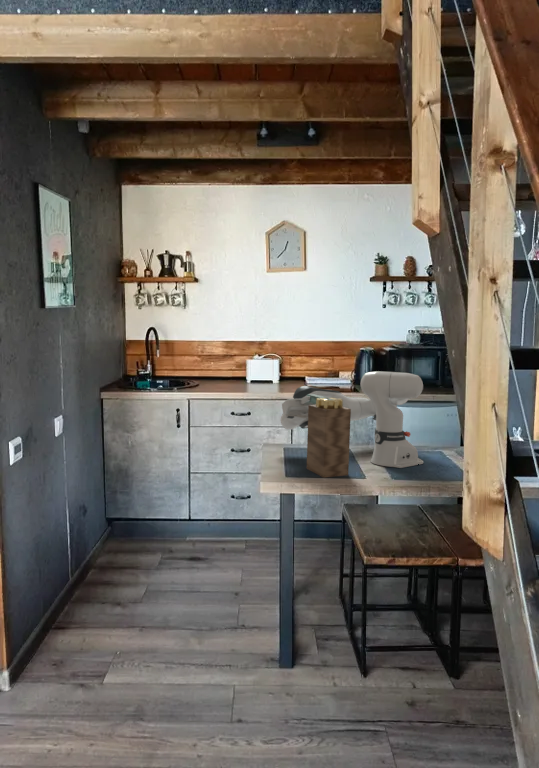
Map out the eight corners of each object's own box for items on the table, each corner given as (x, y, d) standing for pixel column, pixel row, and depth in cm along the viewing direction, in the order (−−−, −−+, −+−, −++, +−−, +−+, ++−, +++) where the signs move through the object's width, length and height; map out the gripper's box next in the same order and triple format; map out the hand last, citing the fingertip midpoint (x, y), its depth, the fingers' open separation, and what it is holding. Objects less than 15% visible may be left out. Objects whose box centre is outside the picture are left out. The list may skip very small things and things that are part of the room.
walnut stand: (330, 466, 233) (332, 403, 230) (348, 475, 220) (350, 409, 218) (306, 468, 229) (308, 404, 226) (323, 477, 216) (325, 410, 213)
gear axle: (321, 400, 238) (321, 393, 238) (347, 408, 219) (347, 400, 219) (299, 401, 234) (299, 394, 234) (324, 409, 215) (324, 401, 215)
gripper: (323, 415, 247) (338, 403, 236) (281, 417, 239) (294, 405, 227) (320, 402, 250) (334, 389, 238) (278, 404, 241) (291, 391, 230)
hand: (314, 397), depth 233 cm, fingers open, 3 cm apart
